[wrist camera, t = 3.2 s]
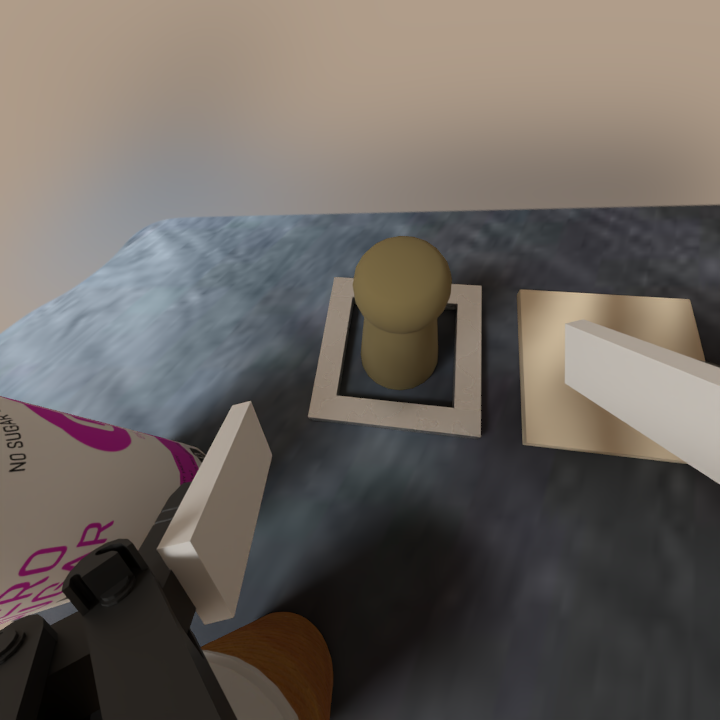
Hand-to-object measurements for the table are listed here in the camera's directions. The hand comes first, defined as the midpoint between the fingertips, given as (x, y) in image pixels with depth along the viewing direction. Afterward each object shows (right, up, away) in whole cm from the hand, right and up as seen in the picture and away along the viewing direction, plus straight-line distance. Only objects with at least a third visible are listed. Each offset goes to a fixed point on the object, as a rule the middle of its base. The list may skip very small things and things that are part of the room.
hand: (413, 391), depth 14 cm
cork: (+1, +2, +13) cm, 13 cm away
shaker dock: (+1, +2, +13) cm, 13 cm away
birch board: (+16, +1, +11) cm, 19 cm away
